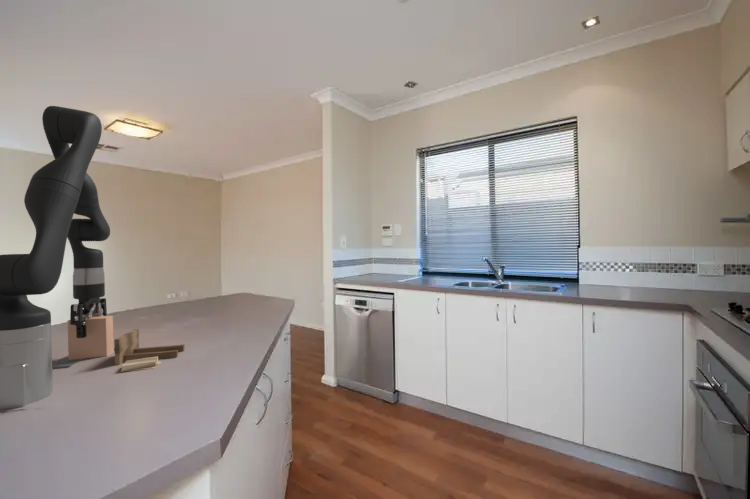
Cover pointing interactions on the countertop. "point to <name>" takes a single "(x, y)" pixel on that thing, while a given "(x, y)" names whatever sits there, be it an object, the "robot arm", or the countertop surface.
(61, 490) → the countertop surface
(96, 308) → the robot arm
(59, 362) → the mat
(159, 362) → the cream folded flat block
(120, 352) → the rack
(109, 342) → the salmon pink block
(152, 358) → the offcut upper
